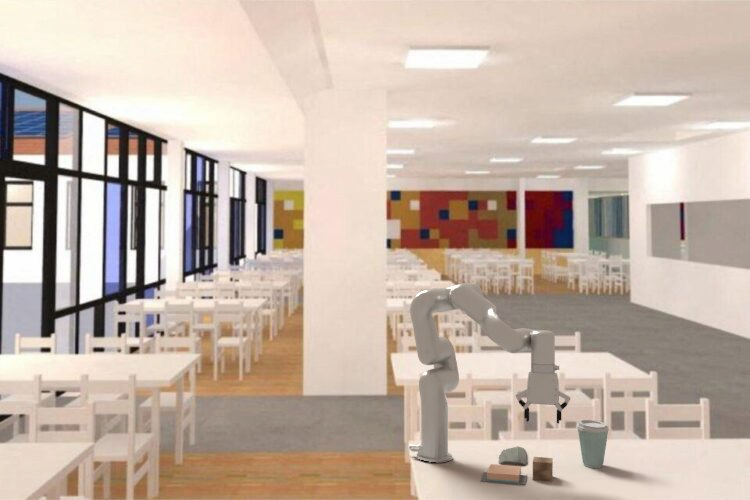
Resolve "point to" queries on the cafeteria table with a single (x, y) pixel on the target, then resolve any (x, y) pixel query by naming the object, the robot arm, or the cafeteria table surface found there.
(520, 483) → the mat
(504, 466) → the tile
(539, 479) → the walnut block
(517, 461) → the stone slab
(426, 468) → the cafeteria table surface
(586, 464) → the disposable coffee cup
